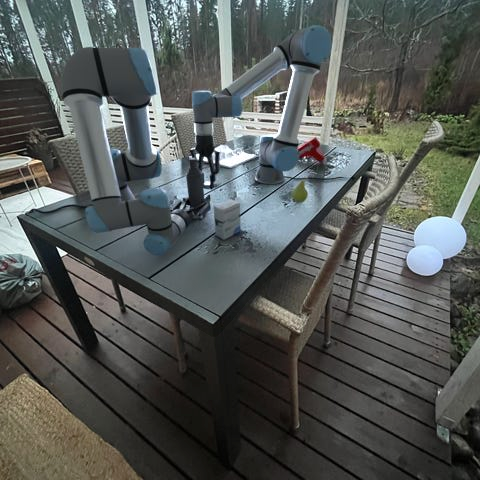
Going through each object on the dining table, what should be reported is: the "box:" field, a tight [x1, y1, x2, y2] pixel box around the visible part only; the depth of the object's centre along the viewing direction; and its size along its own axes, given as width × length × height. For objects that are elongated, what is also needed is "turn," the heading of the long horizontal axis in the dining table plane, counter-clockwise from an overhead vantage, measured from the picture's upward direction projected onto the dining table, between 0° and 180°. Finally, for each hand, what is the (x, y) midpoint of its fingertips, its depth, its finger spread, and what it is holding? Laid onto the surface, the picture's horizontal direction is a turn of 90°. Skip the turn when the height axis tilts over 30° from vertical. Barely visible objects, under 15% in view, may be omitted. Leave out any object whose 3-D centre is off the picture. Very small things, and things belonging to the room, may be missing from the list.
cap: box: [203, 181, 211, 190], centre depth 123 cm, size 4×4×2 cm
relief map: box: [188, 143, 257, 169], centre depth 179 cm, size 27×35×5 cm
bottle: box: [185, 158, 207, 220], centre depth 105 cm, size 6×6×23 cm
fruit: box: [291, 174, 311, 204], centre depth 118 cm, size 7×8×12 cm
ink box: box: [213, 198, 242, 240], centre depth 96 cm, size 8×5×12 cm, turn 135°
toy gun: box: [297, 136, 326, 164], centre depth 169 cm, size 18×4×15 cm
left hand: (201, 196), depth 112 cm, fingers closed on bottle, 6 cm apart
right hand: (207, 187), depth 123 cm, fingers closed on cap, 4 cm apart
